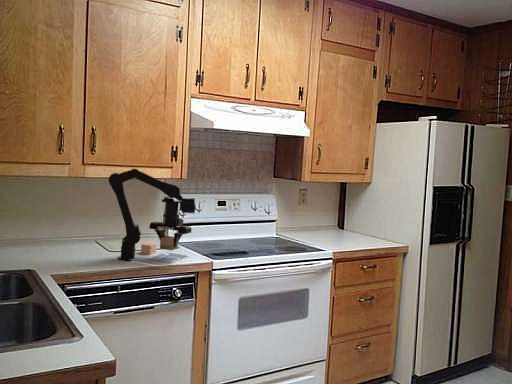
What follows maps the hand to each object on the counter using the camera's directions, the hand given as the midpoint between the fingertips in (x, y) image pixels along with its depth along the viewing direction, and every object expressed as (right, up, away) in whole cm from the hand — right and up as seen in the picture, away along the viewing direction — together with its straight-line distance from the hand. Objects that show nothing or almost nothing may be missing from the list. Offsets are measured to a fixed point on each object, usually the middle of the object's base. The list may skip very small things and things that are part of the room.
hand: (169, 246), depth 222 cm
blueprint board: (-1, -6, +3) cm, 7 cm away
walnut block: (0, -1, 0) cm, 1 cm away
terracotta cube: (-11, -5, +9) cm, 15 cm away
